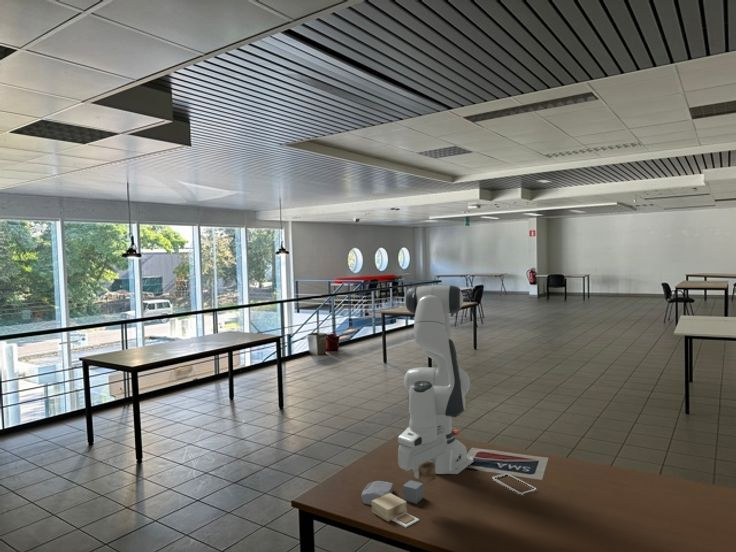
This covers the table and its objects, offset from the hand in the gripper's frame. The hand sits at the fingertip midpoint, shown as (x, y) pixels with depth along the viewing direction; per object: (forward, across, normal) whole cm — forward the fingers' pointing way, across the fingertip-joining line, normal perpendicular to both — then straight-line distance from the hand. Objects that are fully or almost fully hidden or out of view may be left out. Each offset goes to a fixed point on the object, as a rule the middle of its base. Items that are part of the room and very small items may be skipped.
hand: (424, 473), depth 159 cm
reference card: (+11, +10, +1) cm, 15 cm away
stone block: (+12, +6, -17) cm, 22 cm away
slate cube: (+12, -2, -7) cm, 14 cm away
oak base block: (+12, +10, -6) cm, 17 cm away
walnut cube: (+2, 0, 0) cm, 2 cm away
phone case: (+13, -35, +11) cm, 39 cm away
